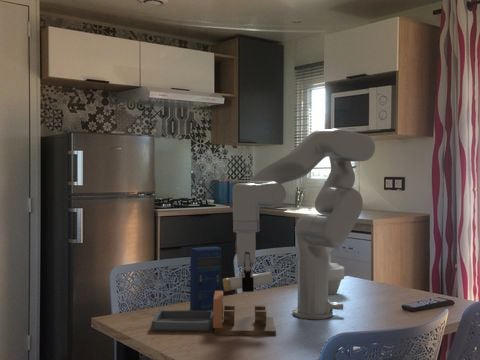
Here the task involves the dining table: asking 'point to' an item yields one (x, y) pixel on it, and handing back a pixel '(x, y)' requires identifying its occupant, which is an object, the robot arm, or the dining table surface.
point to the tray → (183, 321)
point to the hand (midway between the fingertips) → (247, 289)
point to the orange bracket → (218, 309)
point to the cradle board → (246, 323)
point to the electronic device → (204, 277)
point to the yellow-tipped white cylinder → (237, 281)
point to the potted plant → (334, 274)
